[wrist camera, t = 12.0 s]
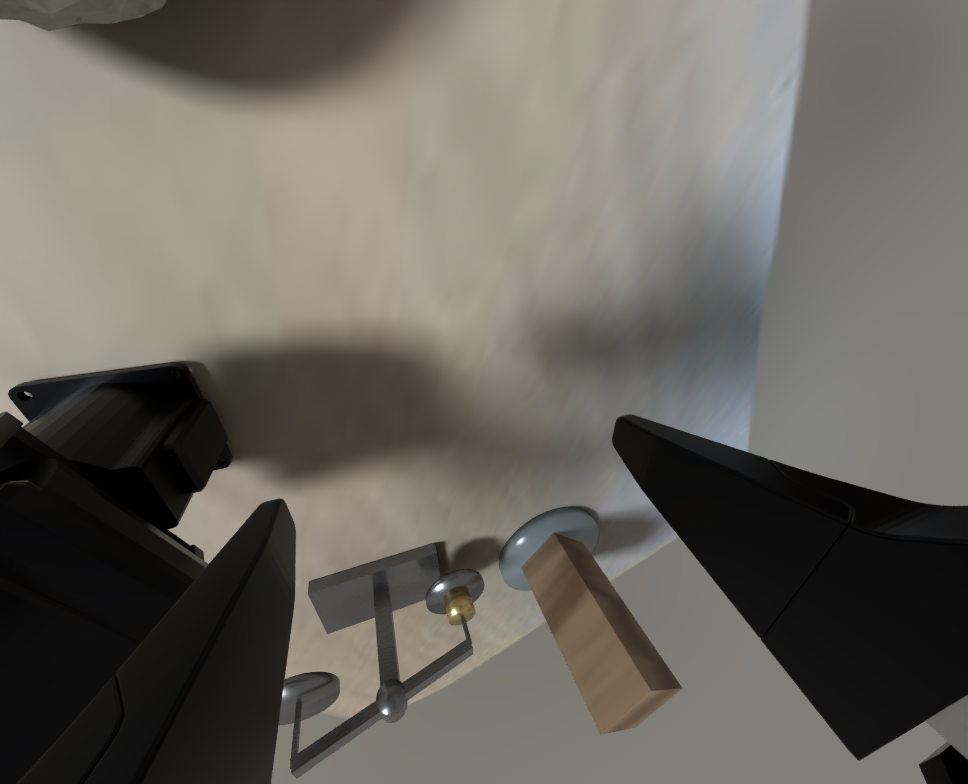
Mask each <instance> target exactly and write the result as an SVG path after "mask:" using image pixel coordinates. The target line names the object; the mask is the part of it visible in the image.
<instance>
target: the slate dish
mask: <svg viewBox="0 0 968 784" xmlns="http://www.w3.org/2000/svg"><path fill="white" fill-rule="evenodd" d="M553 533H556V534H559V535H562V536H565V537H568V538H571V539H574V540H577V541H580V542H583V544H584V545H585V547H586V548H587V549H588V551H589V552H590V554H591V553H592V552H593V550H594V548H595V546H596V544H597V542H598V538H599V528H598V525H597V523H596V522H595V521H594V519H593V518H592V517H591V515H590V514H589V513H588V512H586V511H585V510H583V509H580V508H576V507H564V508H558V509H554V510H551V511H548V512H546V513H543V514H541V515H539V516H537V517H535V518H534V519H532V520H530V521H529V522H527V523H526V524H525V525H523V526H522V527H521V528H520V529H519V530H517V531H516V532H515V533H514V534H513V535H512V537H511V538H510V539H509V540H508V542H507V543H506V544H505V546H504V548H503V550H502V552H501V555H500V558H499V568H500V571H501V574H502V576H503V578H504V581H505V582H506V584H507V585H508V586H510V587H512V588H514V589H517V590H525V591H527V590H532V589H531V587H530V585H529V583H528V581H527V579H526V577H525V575H524V573H523V570H522V568H521V567H522V566H523V565H524V564H525V562H526V561H527V560H528V559H529V558H530V557H531V556H532V555H533V554H534V553H535V552H536V551H537V550H538V549H539V548H540V546H541V545H542V544H543V543H544V542H545V541H546V540H547V539H548V538H549V537H550V536H551V535H552V534H553Z"/></svg>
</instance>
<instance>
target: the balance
mask: <svg viewBox="0 0 968 784" xmlns="http://www.w3.org/2000/svg"><path fill="white" fill-rule="evenodd" d="M483 590H484V581H483V578H482V576H481V574H480V573H479V572H477V571H475V570H471V569H463V570H457V571H454V572H451V573H448V574H446V575H444V576H442V577H441V578H440V571H439V563H438V556H437V551H436V547H435V543H433V544H430V545H426V546H423V547H420V548H417V549H413V550H410V551H407V552H404V553H401V554H397V555H394V556H391V557H388V558H384V559H381V560H378V561H375V562H371V563H368V564H365V565H362V566H358V567H355V568H352V569H349V570H346V571H342V572H339V573H336V574H333V575H329V576H326V577H323V578H320V579H316V580H313V581H310V582H309V587H308V595H309V597H310V599H311V601H312V603H313V606H314V608H315V610H316V612H317V614H318V616H319V618H320V620H321V622H322V624H323V626H324V628H325V630H326V632H327V634H329V633H332V632H335V631H338V630H340V629H343V628H346V627H349V626H352V625H355V624H357V623H360V622H363V621H366V620H369V619H372V618H374V617H375V621H376V634H377V647H378V661H379V674H380V688H379V690H378V693H377V697H376V701H375V702H373V703H372V704H370V705H369V706H367V707H366V708H364V709H363V710H362V711H360V712H359V713H357V714H356V715H354V716H353V717H351V718H350V719H348V720H347V721H345V722H344V723H342V724H341V725H339V726H338V727H336V728H335V729H333V730H332V731H330V732H329V733H328V734H326V735H325V736H323V737H322V738H320V739H319V740H317V741H316V742H314V743H313V744H311V745H310V746H308V747H307V748H306V749H304V750H302V751H301V752H299V753H298V749H299V736H300V724H301V720H305V719H307V718H310V717H312V716H314V715H316V714H318V713H320V712H322V711H324V710H325V709H327V708H328V707H329V706H330V705H332V704H333V703H334V702H335V701H336V699H337V698H338V696H339V693H340V680H339V678H338V677H337V676H336V675H334V674H331V673H327V672H310V673H304V674H299V675H296V676H293V677H290V678H287V679H285V680H284V686H283V694H282V702H281V709H280V717H279V724H278V725H285V724H290V723H294V730H293V741H292V752H291V759H290V761H291V762H290V769H291V772H292V774H293V775H294V776H295V777H296V778H298V777H300V776H301V775H302V774H304V773H305V772H307V771H308V770H310V769H311V768H312V767H314V766H315V765H317V764H318V763H319V762H321V761H322V760H324V759H325V758H327V757H328V756H329V755H331V754H332V753H334V752H335V751H336V750H338V749H339V748H341V747H342V746H343V745H345V744H346V743H348V742H349V741H351V740H352V739H353V738H355V737H356V736H357V735H359V734H361V733H362V732H363V731H365V730H366V729H367V728H369V727H371V726H372V725H373V724H375V723H376V722H378V721H379V720H380V719H382V718H383V719H384V720H385V721H386V722H388V723H393V722H396V721H398V720H399V719H400V718H401V717H402V716H403V715H404V713H405V711H406V709H407V700H409V699H410V698H412V697H413V696H414V695H416V694H417V693H419V692H420V691H422V690H423V689H424V688H426V687H427V686H429V685H430V684H432V683H433V682H434V681H436V680H437V679H439V678H440V677H441V676H443V675H444V674H446V673H447V672H449V671H450V670H451V669H453V668H454V667H456V666H457V665H458V664H460V663H461V662H463V661H464V660H466V659H467V658H468V657H470V656H471V655H473V647H472V645H471V644H472V641H471V638H470V634H469V631H468V627H467V624H466V622H468V621H469V620H470V619H472V618H473V616H474V615H475V608H474V605H473V602H475V601H476V600H477V599H478V598H479V596H480V595H481V594H482V592H483ZM425 599H426V604H427V608H428V609H429V610H430V611H431V612H433V613H435V614H447V616H448V620H449V623H450V624H451V625H461V624H462V625H463V629H464V632H465V636H466V640H465V641H463V642H462V643H460V644H459V645H458V646H456V647H455V648H453V649H452V650H450V651H449V652H447V653H446V654H444V655H443V656H441V657H440V658H438V659H437V660H435V661H434V662H432V663H431V664H429V665H428V666H427V667H425V668H424V669H422V670H421V671H419V672H418V673H416V674H415V675H413V676H412V677H410V678H409V679H407V680H406V681H404V682H403V683H401V681H400V674H399V666H398V657H397V648H396V640H395V631H394V623H393V614H392V611H394V610H397V609H400V608H403V607H406V606H408V605H411V604H414V603H417V602H420V601H423V600H425Z"/></svg>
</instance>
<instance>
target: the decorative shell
mask: <svg viewBox="0 0 968 784" xmlns="http://www.w3.org/2000/svg"><path fill="white" fill-rule="evenodd" d="M165 2H166V0H0V19H9V20H21V21H24V22H28V23H30V24H33V25H35V26H37V27H40V28H42V29H45V30H47V31H52V30H56V29H60V28H64V27H68V26H72V25H76V24H113V23H117V22H121V21H125V20H130V19H136V18H141V17H143V16H145V15H146V14H149V13H151V12H153V11H155V10H158V9H160V8H162V7H163V5H164V4H165Z"/></svg>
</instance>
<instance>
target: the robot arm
mask: <svg viewBox="0 0 968 784" xmlns="http://www.w3.org/2000/svg"><path fill="white" fill-rule="evenodd" d="M171 371H177V372H179V373H180V374H181V376H180V377H178V376H174V375H173V374H172V373H171ZM24 392H28V393H31V394H32V395H33V397H30V396H27V395H26V394H25V393H24ZM8 395H9V397H10V399H11V400H12V401H13V403H14V404H15V405H16V406H17V407H18V409H19V410H20V411H21V412H22V413H23V415H24V416H25V417H26V418H27V419H28V421H29V423H28V424H26V425H25V426H24V427H21V426H22V425H23V423H22V422H21V421H19V420H18V419H16V418H15V417H14V416H12V415H11V414H9V413H8V412H3V413H0V784H271V777H272V770H273V762H274V754H275V747H276V740H277V732H278V724H279V717H280V709H281V702H282V694H283V686H284V679H285V671H286V664H287V656H288V648H289V641H290V633H291V626H292V618H293V610H294V601H295V554H296V530H295V524H294V521H293V519H292V516H291V514H290V512H289V509H288V507H287V505H286V503H285V501H284V500H283V499H275V500H271V501H267V502H264V503H262V504H260V505H259V506H258V508H257V509H256V510H255V511H254V512H253V513H252V515H251V516H250V517H249V518H248V519H247V520H246V522H245V523H244V524H243V525H242V526H241V527H240V528H239V530H238V531H237V532H236V533H235V534H234V535H233V537H232V538H231V539H230V540H229V541H228V542H227V544H226V545H225V546H224V547H223V548H222V549H221V551H220V552H219V553H218V554H217V555H216V556H215V557H214V559H213V560H212V561H211V562H210V563H209V564H207V563H206V562H205V561H204V552H203V551H202V550H201V549H199V548H198V547H197V546H195V545H191V546H190V545H189V544H187V543H186V542H185V541H183V540H182V539H180V538H179V537H177V536H176V535H175V534H173V533H172V532H170V531H169V530H167V529H171V528H174V527H176V526H177V525H178V524H179V522H180V520H181V518H182V516H183V514H184V512H185V509H186V507H187V505H188V503H189V501H190V499H191V497H192V495H193V493H196V492H201V491H202V490H203V489H204V487H205V486H206V484H207V482H208V480H209V478H210V476H211V474H212V472H213V471H214V470H218V469H223V468H226V467H228V466H229V465H230V463H231V461H232V454H231V452H230V450H229V448H228V446H227V444H226V442H227V440H228V437H227V435H226V433H225V431H224V429H223V427H222V425H221V423H220V421H219V419H218V417H217V415H216V413H215V411H214V409H213V407H212V405H211V403H210V402H209V401H208V400H206V399H204V398H203V396H202V394H201V392H200V390H199V388H198V386H197V384H196V382H195V380H194V378H193V376H192V374H191V372H190V370H189V369H188V368H187V367H186V366H185V365H183V364H180V363H167V364H160V365H152V366H145V367H137V368H129V369H122V370H114V371H107V372H99V373H92V374H84V375H77V376H69V377H62V378H54V379H47V380H39V381H32V382H24V383H21V384H18V385H17V386H15V387H13V388H12V389H11V390H9V393H8ZM612 443H613V446H614V448H615V449H616V451H617V453H618V454H619V456H620V457H621V459H622V460H623V462H624V463H625V465H626V466H627V468H628V469H629V471H630V473H631V474H632V476H633V477H634V479H635V480H636V482H637V483H638V485H639V486H640V488H641V489H642V490H643V492H644V493H645V494H646V496H647V497H648V498H649V499H650V501H651V502H652V503H653V504H654V506H655V507H656V508H657V509H658V511H659V512H660V513H661V514H662V516H663V517H664V518H665V520H666V521H667V522H668V523H669V525H670V526H671V527H672V528H673V530H674V531H675V532H676V533H677V535H678V536H679V537H680V538H681V540H682V541H683V542H684V543H685V545H686V546H687V547H688V548H689V550H690V551H691V552H692V553H693V555H694V556H695V557H696V559H697V560H698V561H699V562H700V564H701V565H702V566H703V567H704V569H705V570H706V571H707V572H708V573H709V575H710V576H711V577H712V579H713V580H714V581H715V582H716V584H717V585H718V586H719V587H720V589H721V590H722V591H723V592H724V594H725V595H726V596H727V598H728V599H729V600H730V601H731V602H732V604H733V605H734V606H735V607H736V609H737V610H738V611H739V613H740V614H741V615H742V616H743V618H744V619H745V620H746V621H747V623H748V624H749V625H750V626H751V628H752V629H753V630H754V632H755V633H756V634H757V635H758V637H760V638H761V640H762V642H763V643H764V644H765V645H766V647H767V648H768V649H769V651H770V652H771V653H772V655H773V656H774V657H775V658H776V660H777V661H778V662H779V663H780V664H781V666H782V667H783V668H784V669H785V671H786V672H787V673H788V675H789V676H790V677H791V678H792V680H793V681H794V682H795V683H796V685H797V686H798V687H799V688H800V690H801V691H802V692H803V693H804V695H805V696H806V697H807V699H808V700H809V701H810V702H811V704H812V705H813V706H814V707H815V709H816V710H817V711H818V712H819V714H820V715H821V716H822V718H823V719H824V720H825V721H826V723H827V724H828V725H829V726H830V728H831V729H832V730H833V731H834V733H835V734H836V735H837V736H838V738H839V739H840V740H841V741H842V743H843V744H844V745H845V746H846V748H847V749H848V750H849V751H850V752H851V753H852V754H853V755H854V756H855V758H857V760H859V761H860V760H862V759H863V758H865V757H866V756H868V755H870V754H871V753H873V752H875V751H876V750H878V749H880V748H881V747H883V746H885V745H886V744H888V743H890V742H891V741H893V740H895V739H896V738H898V737H899V736H901V735H902V734H904V733H906V732H908V731H909V730H911V729H912V728H914V727H916V726H917V725H919V724H921V723H923V722H924V721H925V722H926V723H927V724H929V725H930V726H931V727H932V728H933V729H934V730H935V731H936V732H937V733H939V735H941V736H942V737H943V738H944V739H945V740H946V741H947V742H946V743H945V744H944V745H943V746H941V747H940V748H939V749H937V750H936V751H935V752H934V753H933V754H931V755H930V756H929V757H928V758H926V759H925V760H924V761H923V762H921V763H920V764H919V766H920V769H921V771H922V773H923V775H924V778H925V780H926V783H927V784H968V506H941V505H932V504H925V503H920V502H915V501H911V500H907V499H902V498H899V497H896V496H892V495H888V494H885V493H881V492H878V491H874V490H871V489H867V488H863V487H860V486H856V485H853V484H849V483H846V482H842V481H838V480H835V479H831V478H828V477H824V476H821V475H817V474H814V473H811V472H808V471H804V470H801V469H798V468H795V467H791V466H788V465H785V464H782V463H779V462H776V461H773V460H768V459H766V458H764V457H761V456H758V455H754V454H751V453H748V452H745V451H742V450H739V449H736V448H733V447H730V446H727V445H724V444H721V443H718V442H714V441H711V440H708V439H705V438H702V437H699V436H696V435H693V434H690V433H687V432H684V431H681V430H678V429H674V428H671V427H668V426H665V425H662V424H659V423H656V422H653V421H650V420H647V419H644V418H641V417H638V416H635V415H625V416H621V417H619V418H617V420H616V423H615V428H614V432H613V437H612ZM219 458H222V459H224V460H225V461H220V460H218V459H219Z"/></svg>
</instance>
